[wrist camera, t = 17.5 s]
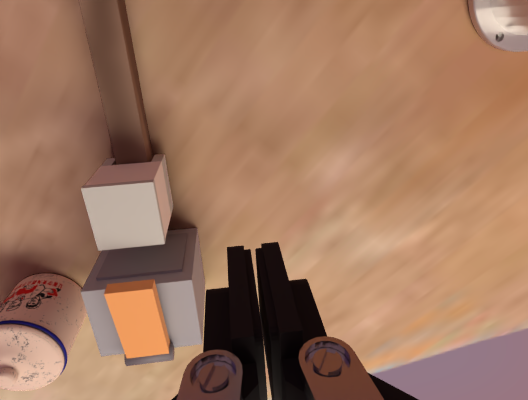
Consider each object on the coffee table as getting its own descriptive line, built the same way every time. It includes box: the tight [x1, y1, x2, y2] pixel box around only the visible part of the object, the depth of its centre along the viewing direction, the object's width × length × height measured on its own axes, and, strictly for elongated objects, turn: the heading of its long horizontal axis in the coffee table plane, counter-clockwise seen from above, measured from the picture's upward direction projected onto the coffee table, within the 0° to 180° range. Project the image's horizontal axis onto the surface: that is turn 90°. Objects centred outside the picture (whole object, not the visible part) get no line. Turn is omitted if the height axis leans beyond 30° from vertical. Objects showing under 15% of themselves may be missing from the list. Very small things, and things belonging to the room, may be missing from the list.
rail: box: [79, 0, 153, 165], centre depth 35 cm, size 5×30×4 cm, turn 3°
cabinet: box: [81, 228, 205, 356], centre depth 41 cm, size 10×8×10 cm
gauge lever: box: [104, 279, 174, 366], centre depth 35 cm, size 4×10×2 cm, turn 3°
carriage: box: [81, 154, 173, 251], centre depth 36 cm, size 6×6×8 cm
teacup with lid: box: [0, 273, 87, 391], centre depth 41 cm, size 12×9×12 cm
